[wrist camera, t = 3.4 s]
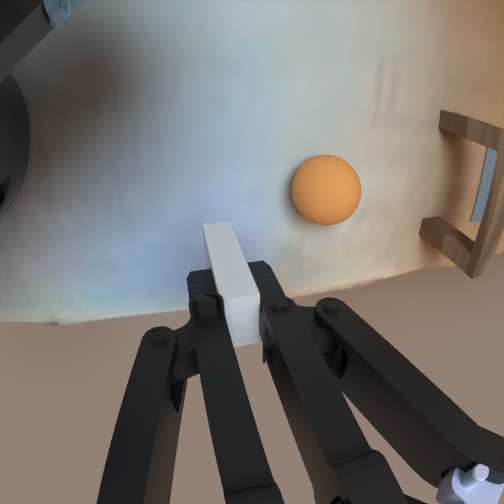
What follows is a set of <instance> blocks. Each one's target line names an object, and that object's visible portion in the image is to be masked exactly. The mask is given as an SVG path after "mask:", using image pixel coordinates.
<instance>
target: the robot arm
mask: <svg viewBox="0 0 504 504" xmlns="http://www.w3.org/2000/svg"><path fill="white" fill-rule="evenodd" d="M83 1H85V0H0V215H1V214H2V213H3V212H4V211H5V210H6V209H7V208H8V207H9V205H10V204H11V203H12V201H13V199H14V198H15V196H16V194H17V192H18V190H19V188H20V186H21V183H22V180H23V177H24V174H25V170H26V166H27V161H28V153H29V124H28V117H27V112H26V107H25V104H24V100H23V98H22V95H21V92H20V90H19V88H18V86H17V84H16V83H15V81H14V79H13V78H12V77H11V75H10V74H9V73H10V72H11V71H12V70H13V68H14V67H15V66H16V65H17V64H18V63H19V62H20V61H21V60H22V59H23V58H24V57H25V56H26V55H27V54H28V53H29V52H30V51H31V50H32V49H33V48H34V47H35V46H36V45H37V44H38V43H39V42H40V41H41V40H42V39H43V38H44V37H45V36H46V35H47V34H48V33H49V32H51V31H52V30H53V29H55V31H56V32H57V31H58V30H59V29H60V28H61V27H63V26H64V25H65V24H66V23H67V22H68V21H69V16H70V13H71V12H72V11H73V10H74V9H76V8H77V7H78V6H79V5H80V4H81V3H82V2H83ZM202 226H203V236H204V245H205V255H206V264H207V269H206V270H199V271H192V272H190V273H189V275H188V277H187V285H188V293H189V310H190V315H191V318H190V320H189V321H188V323H187V324H186V325H184V326H183V327H181V328H179V329H177V330H174V331H173V330H172V329H170V328H168V327H163V326H161V327H155V328H152V329H150V330H148V331H147V332H146V333H145V334H144V336H143V338H142V340H141V344H140V346H139V349H138V352H137V355H136V359H135V362H134V365H133V368H132V371H131V375H130V378H129V381H128V384H127V387H126V391H125V394H124V397H123V401H122V404H121V408H120V411H119V415H118V418H117V422H116V426H115V429H114V433H113V436H112V440H111V444H110V448H109V452H108V456H107V460H106V464H105V468H104V473H103V476H102V481H101V485H100V490H99V494H98V499H97V504H169V503H170V495H171V487H172V480H173V473H174V465H175V458H176V451H177V444H178V437H179V430H180V423H181V417H182V411H183V404H184V398H185V392H186V386H187V379H188V378H190V377H192V376H194V375H196V374H199V373H200V378H201V384H202V390H203V396H204V401H205V407H206V412H207V417H208V422H209V427H210V432H211V437H212V442H213V447H214V451H215V456H216V461H217V465H218V469H219V474H220V478H221V483H222V486H223V492H224V498H225V502H226V504H284V501H283V498H282V495H281V492H280V490H279V488H278V485H277V484H276V483H275V481H274V479H273V477H272V473H271V471H270V467H269V464H268V461H267V458H266V455H265V452H264V448H263V445H262V442H261V439H260V436H259V432H258V429H257V426H256V423H255V419H254V416H253V413H252V409H251V406H250V403H249V399H248V396H247V393H246V389H245V385H244V382H243V379H242V375H241V371H240V368H239V364H238V361H237V357H236V354H235V351H234V348H235V347H240V346H245V345H251V344H257V343H260V336H261V339H262V342H263V363H265V361H266V362H267V364H268V367H269V370H270V373H271V375H272V378H273V381H274V384H275V387H276V389H277V392H278V395H279V398H280V400H281V403H282V406H283V408H284V411H285V414H286V417H287V419H288V422H289V425H290V428H291V430H292V433H293V436H294V438H295V441H296V443H297V446H298V449H299V452H300V454H301V457H302V460H303V462H304V465H305V467H306V470H307V473H308V475H309V478H310V481H311V483H312V486H313V489H314V498H315V502H316V504H427V503H424V502H422V501H420V500H417V499H415V498H412V497H410V496H408V495H405V494H404V493H403V492H402V490H401V488H400V486H399V484H398V482H397V480H396V478H395V476H394V474H393V472H392V470H391V468H390V466H389V464H388V463H387V460H386V459H385V457H384V456H383V454H381V453H380V452H379V451H376V450H373V449H371V447H370V446H369V444H368V442H367V440H366V438H365V436H364V435H363V433H362V431H361V429H360V427H359V425H358V423H357V421H356V419H355V417H354V415H353V413H352V411H351V409H350V407H349V405H348V403H347V401H346V399H345V397H344V395H343V394H342V392H343V393H344V394H345V395H346V396H347V398H348V399H349V400H350V401H351V402H352V403H353V404H354V406H356V408H357V409H358V410H359V411H360V412H361V413H362V414H363V416H364V417H365V418H366V419H367V420H368V421H369V422H370V423H371V424H372V425H373V427H374V428H375V429H376V430H377V431H378V432H379V433H380V434H381V435H382V436H383V438H384V439H385V440H386V441H387V442H388V443H389V444H390V445H391V446H392V447H393V448H394V450H395V451H396V452H397V453H398V454H399V455H400V456H401V457H402V458H403V459H404V460H405V461H406V462H407V464H408V465H409V466H410V467H411V468H412V469H413V470H414V471H415V472H416V473H417V474H418V475H419V476H420V477H421V478H422V479H424V480H425V481H427V482H428V483H429V484H431V485H432V486H434V487H436V488H438V493H437V496H436V499H437V501H438V503H440V504H498V501H499V499H500V496H501V493H502V491H503V488H504V437H502V436H500V435H498V434H496V433H493V432H491V431H489V430H487V429H484V428H482V427H480V426H478V425H477V424H476V423H475V422H474V421H473V420H472V419H471V418H470V417H469V416H468V415H467V414H465V412H464V411H463V410H461V409H460V408H459V407H458V406H457V405H456V404H455V403H454V402H453V401H452V400H451V399H450V398H449V397H448V396H447V395H445V394H444V393H443V392H442V391H441V390H440V389H439V388H438V387H437V386H436V385H434V383H433V382H431V381H430V380H429V379H428V378H427V377H426V376H425V375H424V374H423V373H422V372H420V371H419V370H418V369H417V368H416V367H415V366H414V365H413V364H412V363H411V362H410V361H409V360H408V359H406V358H405V357H404V356H403V355H402V354H401V353H400V352H399V351H398V350H396V349H395V348H394V347H393V346H392V345H391V344H390V343H389V342H388V341H386V340H385V339H384V338H383V337H382V336H381V335H380V334H379V333H378V332H377V331H375V330H374V329H373V328H372V327H371V326H370V325H369V324H368V323H366V322H365V321H364V320H363V319H362V318H361V317H360V316H359V315H358V314H356V313H355V312H354V311H353V310H352V309H351V308H350V307H348V306H347V305H346V304H345V303H344V302H342V301H341V300H339V299H336V298H323V299H321V300H319V301H318V302H317V304H316V306H315V307H305V306H299V305H296V304H295V302H294V301H293V300H292V299H290V298H288V297H286V296H285V294H284V292H283V290H282V288H281V286H280V284H279V282H278V280H277V279H276V276H275V274H274V273H273V271H272V269H271V267H270V265H268V264H267V263H266V262H264V261H257V262H250V263H247V262H246V259H245V257H244V254H243V252H242V250H241V247H240V245H239V242H238V240H237V238H236V235H235V233H234V230H233V228H232V225H231V223H230V221H221V222H213V223H205V224H202ZM341 391H342V392H341Z"/></svg>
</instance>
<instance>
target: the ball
mask: <svg viewBox="0 0 504 504" xmlns="http://www.w3.org/2000/svg"><path fill="white" fill-rule="evenodd" d="M291 189H292V198H293V201H294V204H295V206H296V207H297V209H298V210H299V212H300V213H301V214H302V215H303V216H304V217H305V218H307V219H308V220H310V221H312V222H314V223H317V224H321V225H333V224H337V223H340V222H342V221H344V220H346V219H347V218H349V217H350V216H351V215H352V214H353V213H354V211H355V210H356V208H357V206H358V204H359V202H360V198H361V184H360V180H359V177H358V175H357V173H356V172H355V170H354V169H353V168H352V166H351V165H350V164H348V163H347V162H346V161H344V160H343V159H341V158H338V157H336V156H331V155H320V156H315V157H313V158H310V159H309V160H307V161H306V162H304V163H303V164H302V165H301V166H300V167H299V168H298V170H297V171H296V173H295V175H294V178H293V181H292V187H291Z"/></svg>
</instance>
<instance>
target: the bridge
mask: <svg viewBox="0 0 504 504" xmlns="http://www.w3.org/2000/svg"><path fill="white" fill-rule="evenodd" d="M439 128H440V129H443V130H445V131H448V132H451V133H454V134H456V135H459V136H461V137H464V138H467V139H469V140H471V141H474V142H476V143H479V144H481V145H483V146H486V147H488V148H490V149H493V150H495V151H497V158H496V163H495V168H494V173H493V177H492V182H491V186H490V191H489V195H488V199H487V202H486V206H485V210H484V214H483V217H482V221H481V224H480V227H479V231H478V234H477V237H476V240H475V242H474V241H473V240H471V239H470V238H469V237H467V236H466V235H465V234H463V233H462V232H461V231H459V230H458V229H457V228H455V227H454V226H452V225H451V224H450V223H448V222H447V221H445V220H444V219H443V218H441V217H432V218H423V220H422V225H421V229H420V233H419V234H420V235H421V236H422V237H424V238H425V239H426V240H427V241H428V242H430V243H431V244H432V245H433V246H435V247H436V248H437V249H438V250H439V251H441V252H442V253H443V254H444V255H445V256H446V257H448V258H449V259H450V260H451V261H452V262H453V263H455V264H456V265H457V266H458V267H459V268H460V269H461V270H462V271H464V272H465V273H466V274H467V275H468V276H469V277H470V278H471V279H472V278H475V277H478V276H481V275H484V274H487V273H488V270H489V267H490V265H491V263H492V260H493V257H494V255H495V252H496V249H497V246H498V244H499V241H500V238H501V235H502V232H503V229H504V129H501V128H499V127H496V126H493V125H491V124H488V123H485V122H482V121H479V120H476V119H473V118H470V117H467V116H464V115H461V114H458V113H453V112H449V111H444V110H441V114H440V123H439Z"/></svg>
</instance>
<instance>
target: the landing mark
mask: <svg viewBox="0 0 504 504" xmlns="http://www.w3.org/2000/svg"><path fill="white" fill-rule="evenodd" d="M496 158H497V151H495V150H493V149H490V148H488V147H487V149H486V154H485V160H484V165H483V170H482V175H481V180H480V184H479V189H478V193H477V197H476V201H475V205H474V209H473V213H472V216H471V220H470V222H474V221H481V220H482V217H483V214H484V210H485V206H486V202H487V199H488V195H489V191H490V186H491V182H492V177H493V173H494V168H495V163H496Z"/></svg>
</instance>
